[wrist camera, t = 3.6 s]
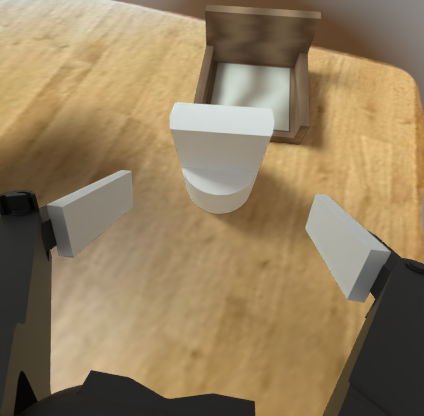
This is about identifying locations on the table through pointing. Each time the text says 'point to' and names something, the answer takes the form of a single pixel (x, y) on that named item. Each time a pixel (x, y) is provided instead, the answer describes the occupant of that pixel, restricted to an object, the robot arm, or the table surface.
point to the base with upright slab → (220, 151)
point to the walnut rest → (260, 64)
